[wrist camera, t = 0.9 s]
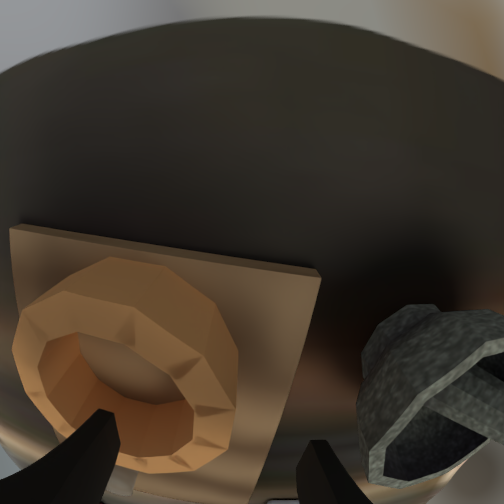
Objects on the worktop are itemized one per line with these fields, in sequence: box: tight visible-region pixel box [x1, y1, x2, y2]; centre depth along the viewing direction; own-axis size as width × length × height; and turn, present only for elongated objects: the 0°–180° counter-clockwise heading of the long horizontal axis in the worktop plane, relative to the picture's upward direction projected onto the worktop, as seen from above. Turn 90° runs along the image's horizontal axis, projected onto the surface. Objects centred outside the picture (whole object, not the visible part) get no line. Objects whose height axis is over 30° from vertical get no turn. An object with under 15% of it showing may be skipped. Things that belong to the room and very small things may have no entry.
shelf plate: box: [9, 224, 321, 504], centre depth 14 cm, size 22×16×5 cm
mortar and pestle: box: [356, 304, 504, 489], centre depth 10 cm, size 11×9×12 cm
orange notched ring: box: [12, 257, 239, 474], centre depth 12 cm, size 10×10×4 cm
